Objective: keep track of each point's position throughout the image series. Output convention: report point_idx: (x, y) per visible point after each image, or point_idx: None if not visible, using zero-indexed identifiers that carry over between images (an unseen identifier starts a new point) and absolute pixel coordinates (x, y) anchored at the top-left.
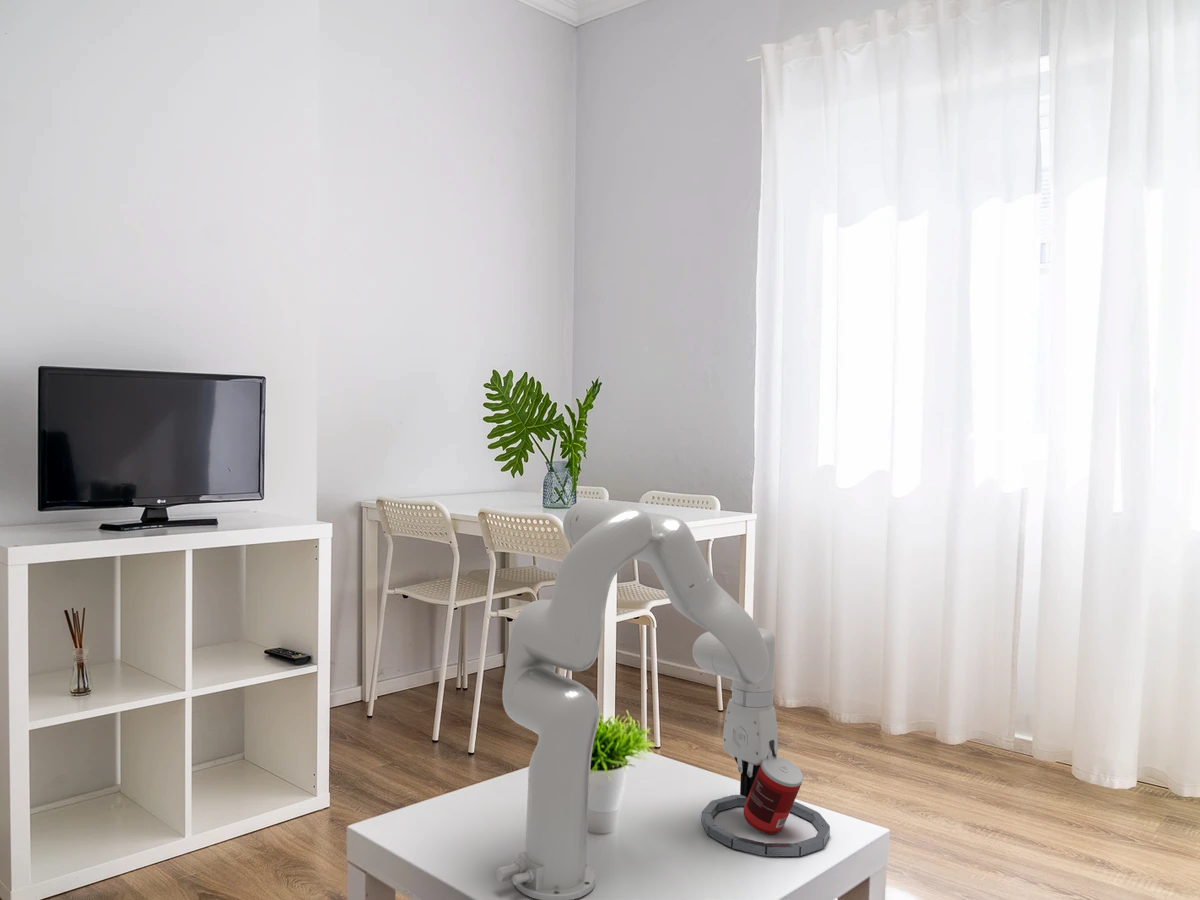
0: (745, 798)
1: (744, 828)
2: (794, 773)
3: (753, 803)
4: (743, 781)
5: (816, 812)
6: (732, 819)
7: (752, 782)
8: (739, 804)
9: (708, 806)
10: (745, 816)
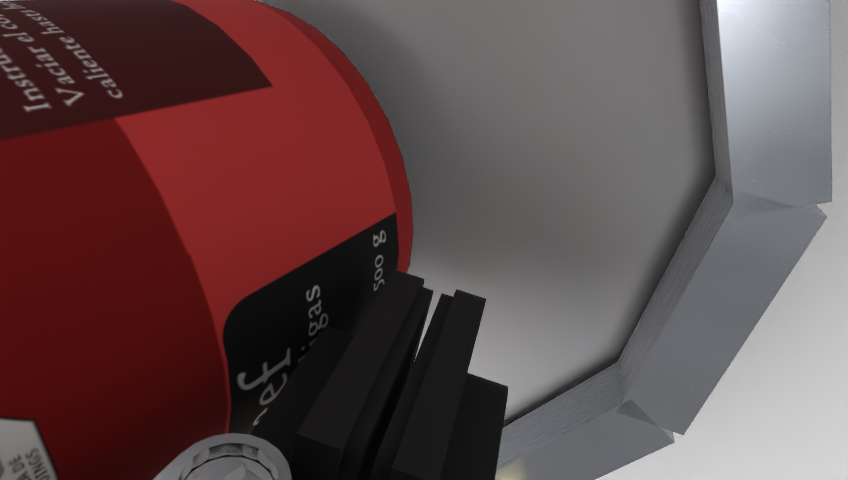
0: (570, 427)
1: (381, 53)
2: None
3: (90, 22)
4: (404, 392)
5: None
6: (543, 140)
7: (276, 404)
8: (605, 374)
9: (804, 53)
10: (312, 36)
